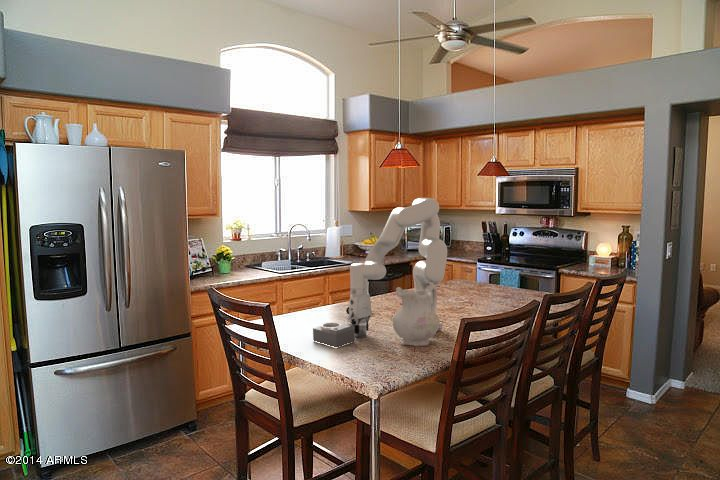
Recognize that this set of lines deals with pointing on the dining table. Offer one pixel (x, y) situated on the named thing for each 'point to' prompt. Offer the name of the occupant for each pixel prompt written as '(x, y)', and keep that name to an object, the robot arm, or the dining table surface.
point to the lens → (362, 327)
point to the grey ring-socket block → (334, 334)
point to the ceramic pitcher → (416, 316)
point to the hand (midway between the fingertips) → (360, 331)
